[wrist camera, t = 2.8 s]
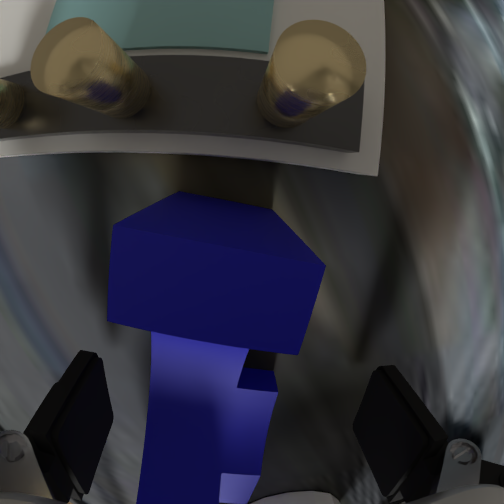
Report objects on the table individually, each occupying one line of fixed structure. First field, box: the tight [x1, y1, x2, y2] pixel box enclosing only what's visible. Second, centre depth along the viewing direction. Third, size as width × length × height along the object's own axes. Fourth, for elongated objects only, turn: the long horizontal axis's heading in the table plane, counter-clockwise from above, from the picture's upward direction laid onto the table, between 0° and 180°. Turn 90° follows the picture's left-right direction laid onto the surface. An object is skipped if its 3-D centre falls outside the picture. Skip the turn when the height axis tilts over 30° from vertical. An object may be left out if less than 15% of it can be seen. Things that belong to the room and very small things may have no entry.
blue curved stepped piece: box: [107, 191, 326, 504], centre depth 9 cm, size 12×4×6 cm, turn 168°
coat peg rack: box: [0, 17, 366, 153], centre depth 5 cm, size 12×2×4 cm, turn 84°
